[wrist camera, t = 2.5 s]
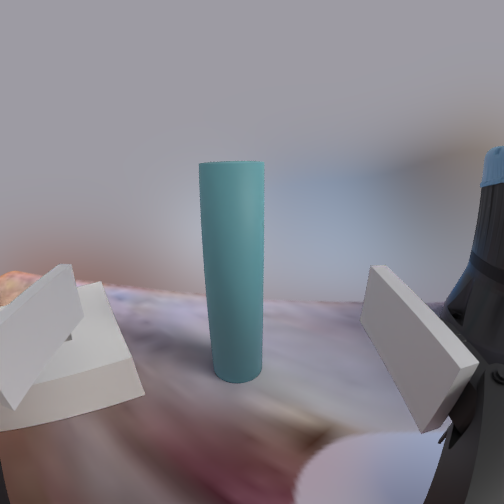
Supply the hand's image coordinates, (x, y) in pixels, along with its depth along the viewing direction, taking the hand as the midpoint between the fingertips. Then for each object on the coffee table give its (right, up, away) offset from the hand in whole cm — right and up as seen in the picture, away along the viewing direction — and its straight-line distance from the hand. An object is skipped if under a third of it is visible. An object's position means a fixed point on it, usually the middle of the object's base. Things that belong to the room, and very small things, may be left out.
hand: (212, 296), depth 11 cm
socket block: (-19, -10, +11) cm, 24 cm away
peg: (0, -9, +14) cm, 16 cm away
